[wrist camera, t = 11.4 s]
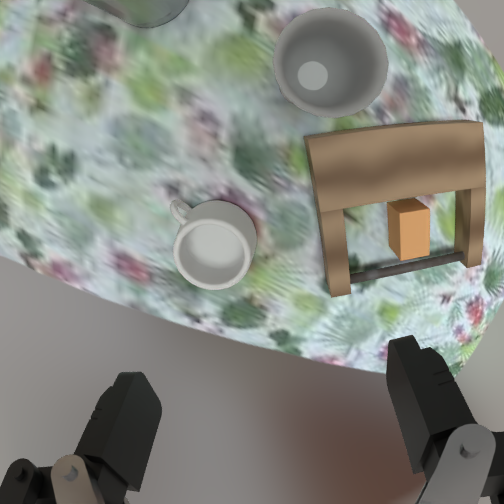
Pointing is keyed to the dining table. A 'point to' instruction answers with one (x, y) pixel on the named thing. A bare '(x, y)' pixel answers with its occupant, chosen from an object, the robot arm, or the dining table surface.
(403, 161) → the shelf
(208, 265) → the mug
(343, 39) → the chalice
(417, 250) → the tall cardboard carton
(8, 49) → the dining table surface
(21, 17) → the dining table surface
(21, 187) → the dining table surface
